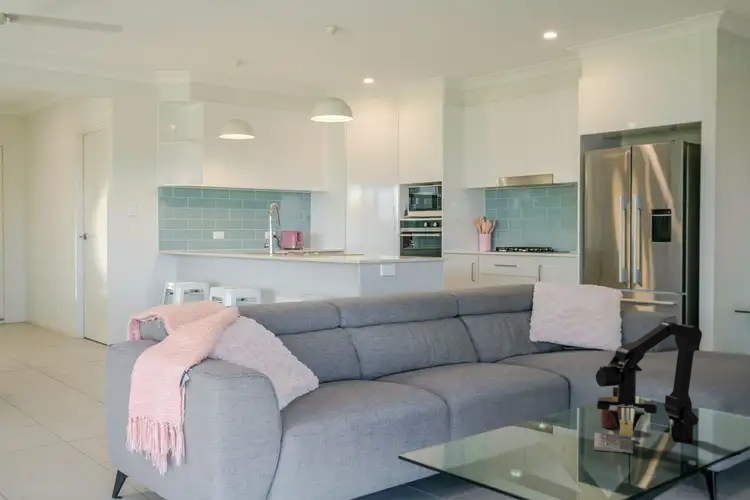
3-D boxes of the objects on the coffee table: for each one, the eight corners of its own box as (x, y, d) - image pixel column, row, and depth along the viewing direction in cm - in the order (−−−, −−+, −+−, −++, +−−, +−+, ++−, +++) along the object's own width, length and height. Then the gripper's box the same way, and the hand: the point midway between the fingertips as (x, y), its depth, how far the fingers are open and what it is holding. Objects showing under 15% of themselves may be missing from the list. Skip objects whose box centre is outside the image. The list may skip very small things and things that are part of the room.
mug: (603, 422, 275) (603, 395, 274) (626, 426, 269) (627, 398, 269) (591, 429, 265) (591, 401, 265) (615, 434, 260) (616, 405, 259)
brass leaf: (631, 432, 249) (632, 420, 249) (632, 437, 243) (632, 424, 243) (619, 431, 250) (619, 419, 250) (619, 436, 244) (620, 423, 244)
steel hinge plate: (630, 439, 254) (631, 430, 254) (632, 453, 239) (632, 443, 238) (594, 436, 257) (594, 427, 257) (594, 449, 242) (594, 440, 242)
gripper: (655, 381, 251) (654, 426, 251) (597, 377, 256) (597, 421, 257) (657, 388, 240) (656, 435, 241) (597, 384, 246) (596, 430, 246)
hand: (626, 430), depth 247 cm, fingers closed on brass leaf, 4 cm apart
